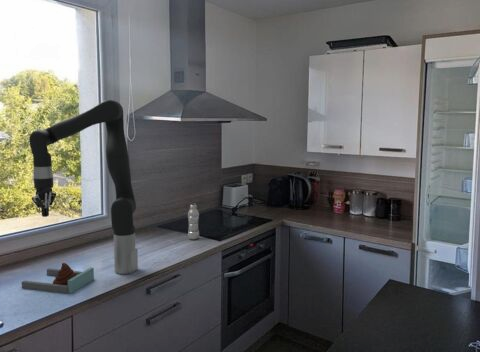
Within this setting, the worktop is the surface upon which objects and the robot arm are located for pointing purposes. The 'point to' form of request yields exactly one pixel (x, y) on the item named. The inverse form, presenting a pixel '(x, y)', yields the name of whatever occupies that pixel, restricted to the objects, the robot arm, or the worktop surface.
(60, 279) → the poop emoji
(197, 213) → the plastic bottle
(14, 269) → the worktop surface
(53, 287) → the channel
